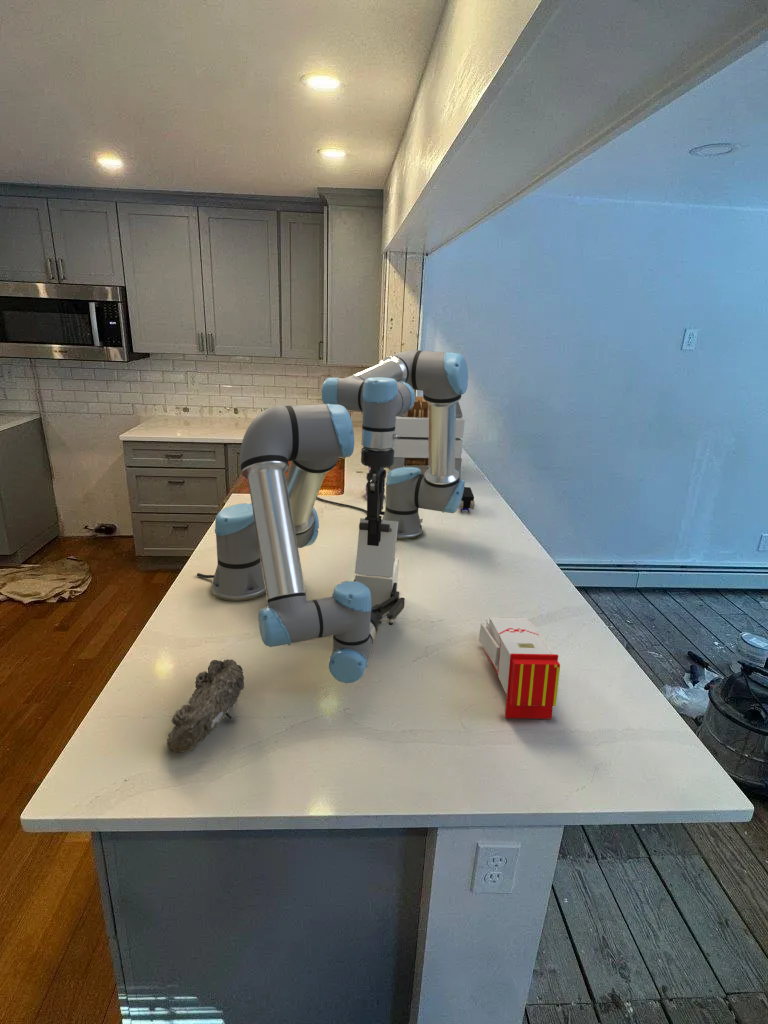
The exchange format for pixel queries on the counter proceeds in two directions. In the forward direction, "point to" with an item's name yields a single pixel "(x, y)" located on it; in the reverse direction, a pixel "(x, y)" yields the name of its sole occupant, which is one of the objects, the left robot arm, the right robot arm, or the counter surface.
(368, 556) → the lid
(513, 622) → the toy
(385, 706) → the counter surface
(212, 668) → the fossil
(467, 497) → the figurine character
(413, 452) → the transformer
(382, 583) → the chest
